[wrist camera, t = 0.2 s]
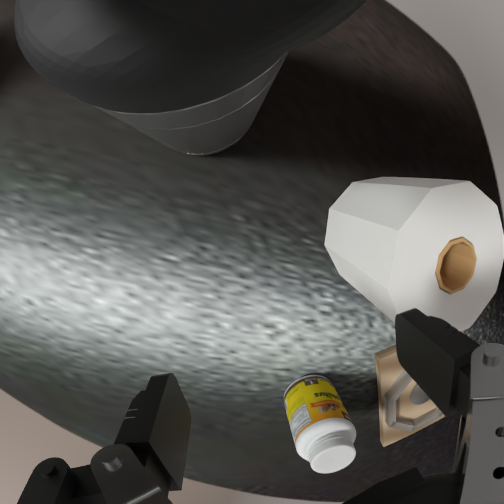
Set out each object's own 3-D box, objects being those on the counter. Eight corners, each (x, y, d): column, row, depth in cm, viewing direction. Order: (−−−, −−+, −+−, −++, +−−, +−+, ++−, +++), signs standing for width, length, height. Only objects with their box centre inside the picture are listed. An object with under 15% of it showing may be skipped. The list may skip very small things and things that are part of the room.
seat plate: (374, 353, 31) (383, 365, 29) (459, 314, 31) (471, 322, 29) (380, 441, 35) (386, 452, 32) (451, 405, 35) (459, 414, 33)
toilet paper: (427, 191, 27) (517, 205, 16) (403, 291, 30) (477, 344, 18) (338, 163, 26) (414, 156, 14) (312, 277, 28) (367, 340, 17)
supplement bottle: (342, 383, 31) (377, 447, 21) (310, 417, 32) (334, 483, 22) (304, 363, 30) (334, 432, 20) (271, 399, 31) (287, 471, 21)
